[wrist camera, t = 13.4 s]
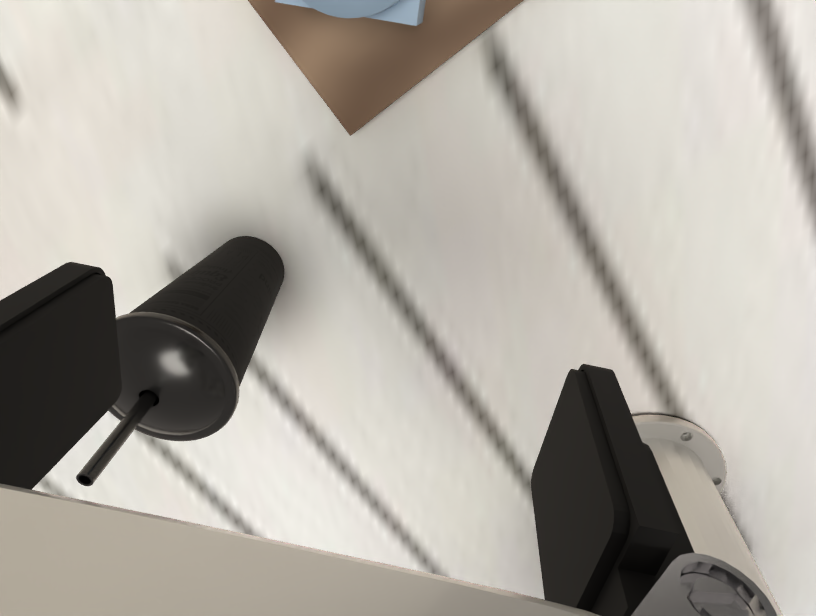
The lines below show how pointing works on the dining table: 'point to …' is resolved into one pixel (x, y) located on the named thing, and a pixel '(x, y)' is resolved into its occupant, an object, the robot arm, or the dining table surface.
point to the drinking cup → (191, 348)
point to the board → (374, 50)
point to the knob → (368, 9)
